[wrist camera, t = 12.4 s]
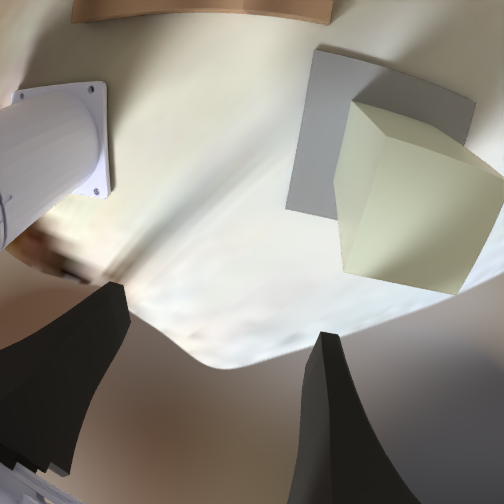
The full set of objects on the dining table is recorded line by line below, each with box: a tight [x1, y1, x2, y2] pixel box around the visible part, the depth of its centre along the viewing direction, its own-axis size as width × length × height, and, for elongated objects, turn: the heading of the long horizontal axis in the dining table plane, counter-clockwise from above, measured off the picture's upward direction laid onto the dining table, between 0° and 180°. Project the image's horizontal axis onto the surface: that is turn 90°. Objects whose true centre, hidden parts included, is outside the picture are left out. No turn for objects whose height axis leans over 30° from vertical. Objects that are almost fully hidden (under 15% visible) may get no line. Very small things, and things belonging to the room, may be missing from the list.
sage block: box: [333, 101, 504, 295], centre depth 12 cm, size 4×4×8 cm
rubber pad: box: [285, 50, 476, 220], centre depth 15 cm, size 9×9×1 cm
